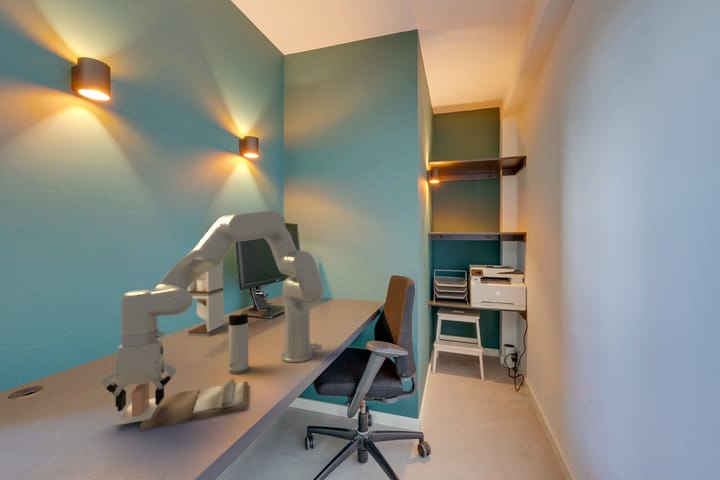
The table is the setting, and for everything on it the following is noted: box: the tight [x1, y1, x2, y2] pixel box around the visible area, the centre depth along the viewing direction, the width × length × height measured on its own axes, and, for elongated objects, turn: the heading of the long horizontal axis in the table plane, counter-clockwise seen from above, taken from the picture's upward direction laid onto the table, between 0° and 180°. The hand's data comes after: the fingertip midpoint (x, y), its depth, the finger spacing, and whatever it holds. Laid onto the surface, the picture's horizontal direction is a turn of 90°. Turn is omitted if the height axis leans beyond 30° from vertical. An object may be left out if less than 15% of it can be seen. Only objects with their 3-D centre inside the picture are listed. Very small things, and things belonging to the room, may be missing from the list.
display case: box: [187, 260, 224, 337], centre depth 144 cm, size 11×11×35 cm
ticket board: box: [139, 378, 249, 431], centre depth 81 cm, size 24×14×3 cm, turn 110°
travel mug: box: [228, 313, 249, 375], centre depth 102 cm, size 6×7×20 cm
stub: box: [115, 382, 158, 426], centre depth 76 cm, size 7×10×6 cm
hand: (140, 404), depth 76 cm, fingers open, 7 cm apart
